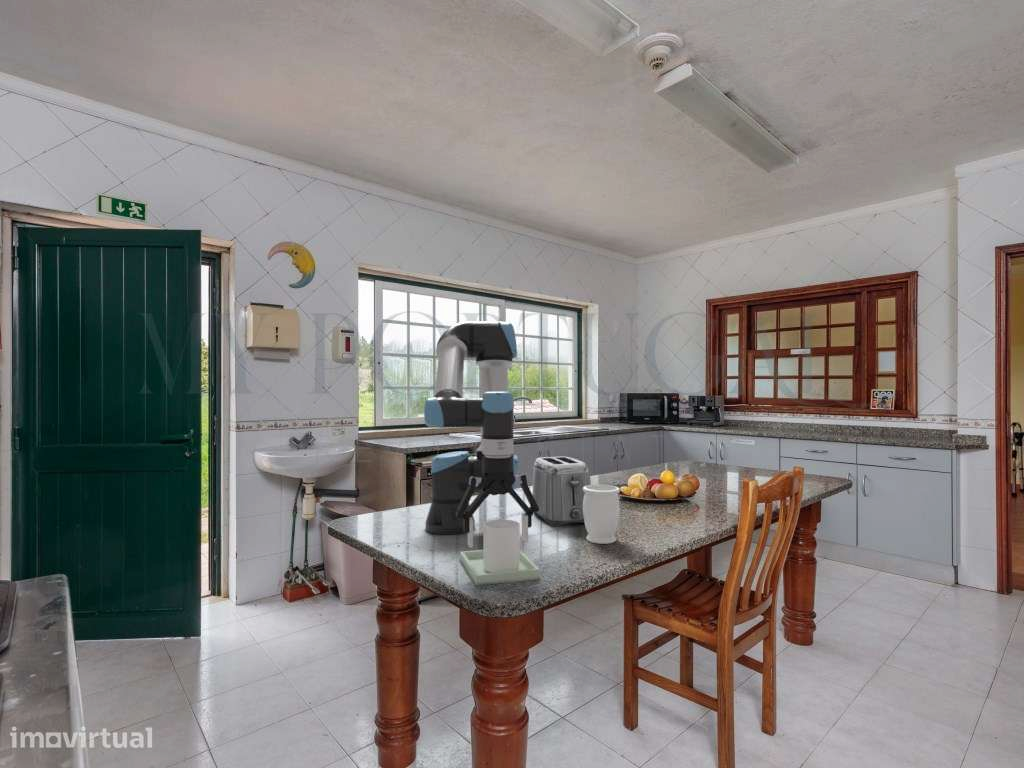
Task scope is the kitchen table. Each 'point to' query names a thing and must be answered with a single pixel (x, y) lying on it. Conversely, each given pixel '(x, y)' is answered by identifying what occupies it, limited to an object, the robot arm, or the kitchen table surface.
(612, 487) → the jar
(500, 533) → the mug
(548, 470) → the toaster
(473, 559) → the tray
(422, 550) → the kitchen table surface
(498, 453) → the robot arm
